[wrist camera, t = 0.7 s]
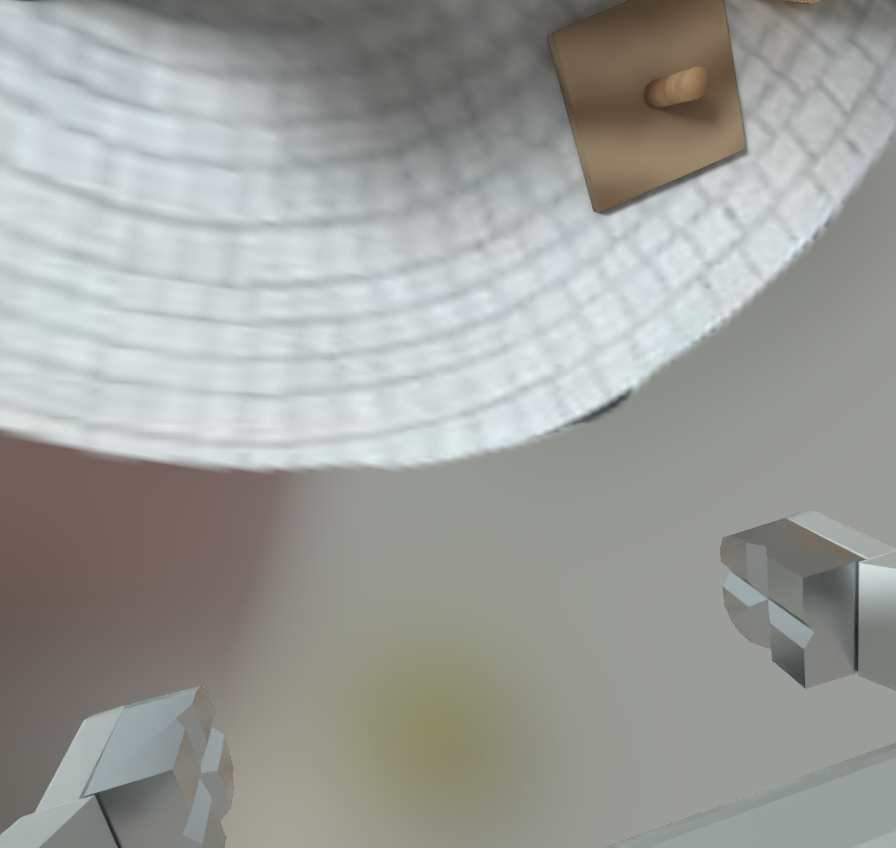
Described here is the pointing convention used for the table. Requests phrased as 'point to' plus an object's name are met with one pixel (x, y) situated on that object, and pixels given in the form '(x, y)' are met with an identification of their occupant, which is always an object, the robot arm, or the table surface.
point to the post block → (648, 94)
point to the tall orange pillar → (805, 1)
